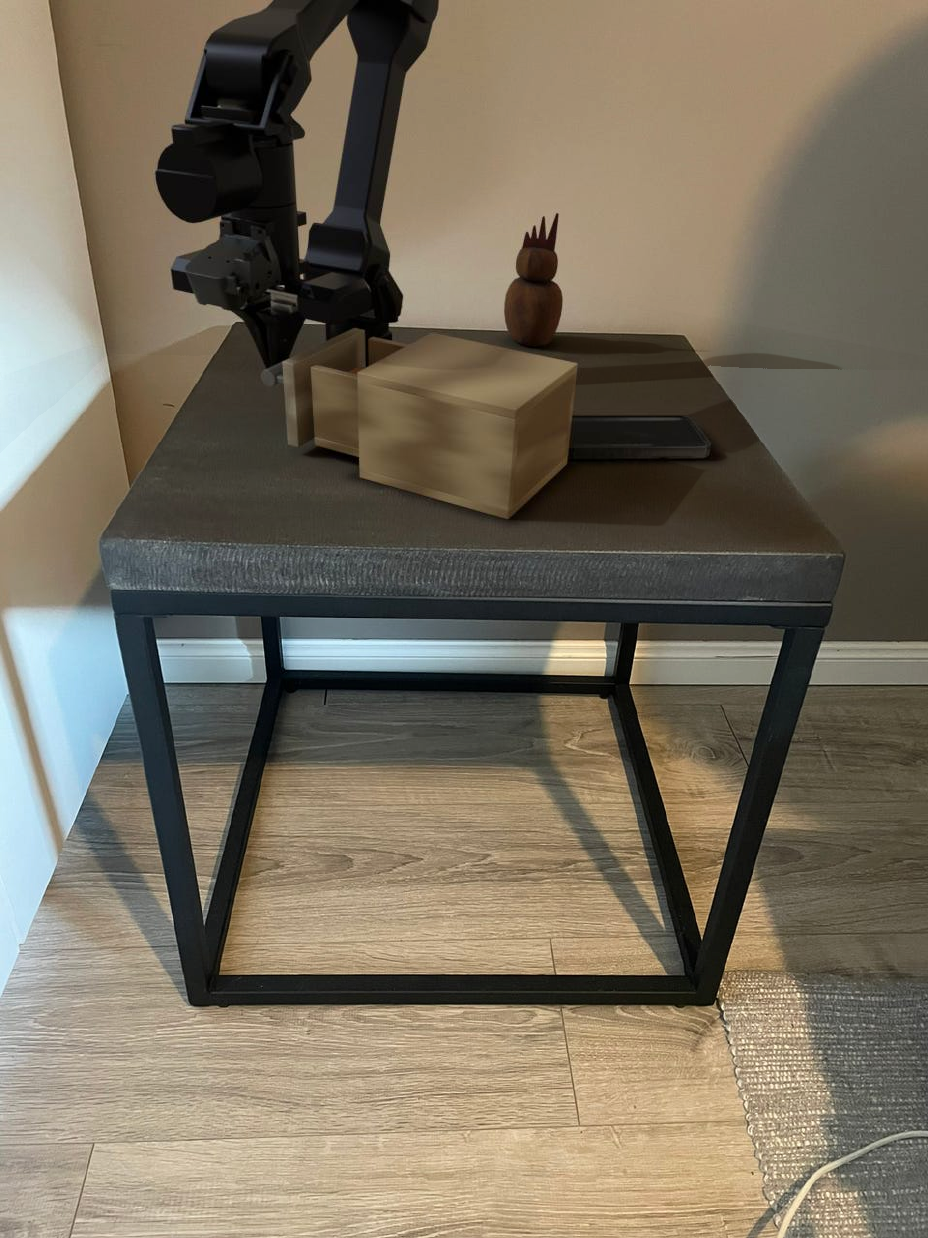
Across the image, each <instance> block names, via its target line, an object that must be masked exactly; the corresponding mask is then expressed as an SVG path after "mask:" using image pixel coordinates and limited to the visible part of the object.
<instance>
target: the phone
mask: <svg viewBox="0 0 928 1238" xmlns="http://www.w3.org/2000/svg"><path fill="white" fill-rule="evenodd" d="M711 447H712V442H711V441H710V440H709V438H708V437H707V435H705V433H704V432H703V430H702V429H701V428H700V426H699V425H698V424H697V422H696V420H694V419H693V418H692V417H690V416H687V415H683V414H633V415H632V414H620V415H619V414H616V415H614V414H613V415H612V414H608V415H607V414H603V415H601V414H599V415H597V414H594V415H593V414H592V415H591V414H590V415H589V414H588V415H587V414H586V415H584V414H583V415H581V414H579V415H575V414H574V415H573V414H572V422H571V431H570V440H569V449H568V456H567V457H568V458H567V460H613V459H614V460H616V459H617V460H629V459H630V460H631V459H633V460H636V459H637V460H639V459H642V460H643V459H644V460H645V459H649V460H650V459H705V458H708V457H709V456H710V452H711Z"/></svg>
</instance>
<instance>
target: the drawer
mask: <svg viewBox="0 0 928 1238" xmlns="http://www.w3.org/2000/svg"><path fill="white" fill-rule="evenodd" d="M368 345H369V366H370V365H372V364H374V363H376V362H378V361H380V360H382V359H383V358H385V357H387V356H389V355H391V354H393V353H395V352H397V351H398V350H400V349H402V348H404V347H406V346H408V345H410V344H407V343H404V342H399V341H395V340H392V341H390V340H386V339H381V338H377V337H371V338H369V339H368ZM359 366H361V367H366V365H365V330H362V329H357V328H353V329H351V330H349V331H347V332H345V333H343V334H341V335H338V336H336V337H334V338H332V339H330V340H328V341H326V340H325V341H323V342H321V343H319V344H317V345H315V346H313V347H311V348H308V349H306V350H304V351H301V352H300V353H298V354H295V355H294V356H291V357H289V359H287V360H285V361H283V362H280V363H278V364H276V365H274V366H272V367H270V368H268V369H266V368H265V369H263V370H262V372H261V373H260V379H261V382H262V383H263V385H265V386H266V387H267V388H272V387H275V386H276V385H278V384H280V385H283V390H284V403H285V405H284V406H285V407H284V408H285V419H286V420H285V421H286V436H287V445H288V446H292V447H296V448H300V447H302V446H304V445H305V444H307V443H309V442H310V441H312V440H314V446H317V447H321V448H323V449H328V450H332V451H336V452H338V453H342V454H346V455H350V456H353V457H357V458H359V425H358V384H357V382H358V381H357V374H353V373H348V372H349V371H351V370H353V369H355V368H357V367H359Z"/></svg>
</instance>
